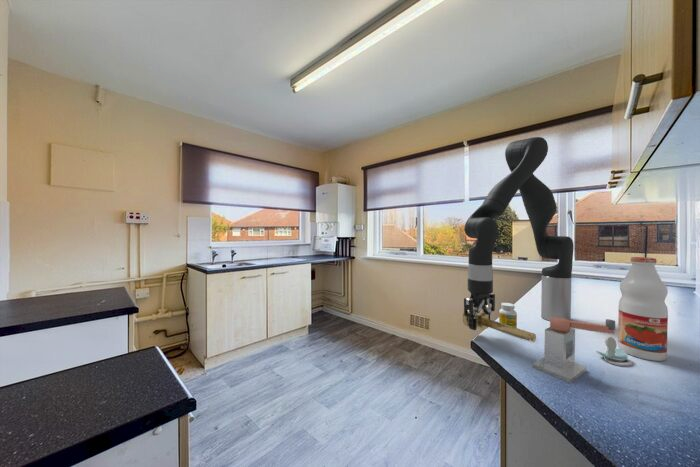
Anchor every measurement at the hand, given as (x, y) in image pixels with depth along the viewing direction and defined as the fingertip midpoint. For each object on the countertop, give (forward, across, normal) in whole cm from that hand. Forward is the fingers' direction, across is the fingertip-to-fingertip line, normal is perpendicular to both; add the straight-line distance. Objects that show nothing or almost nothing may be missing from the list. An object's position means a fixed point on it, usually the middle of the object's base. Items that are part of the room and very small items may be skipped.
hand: (479, 326), depth 85 cm
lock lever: (-7, +2, -25) cm, 26 cm away
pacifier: (+4, +18, -28) cm, 34 cm away
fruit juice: (+4, +30, -31) cm, 43 cm away
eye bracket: (+4, 0, -22) cm, 22 cm away
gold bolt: (+1, 0, -6) cm, 6 cm away
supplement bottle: (+4, +14, -2) cm, 15 cm away
